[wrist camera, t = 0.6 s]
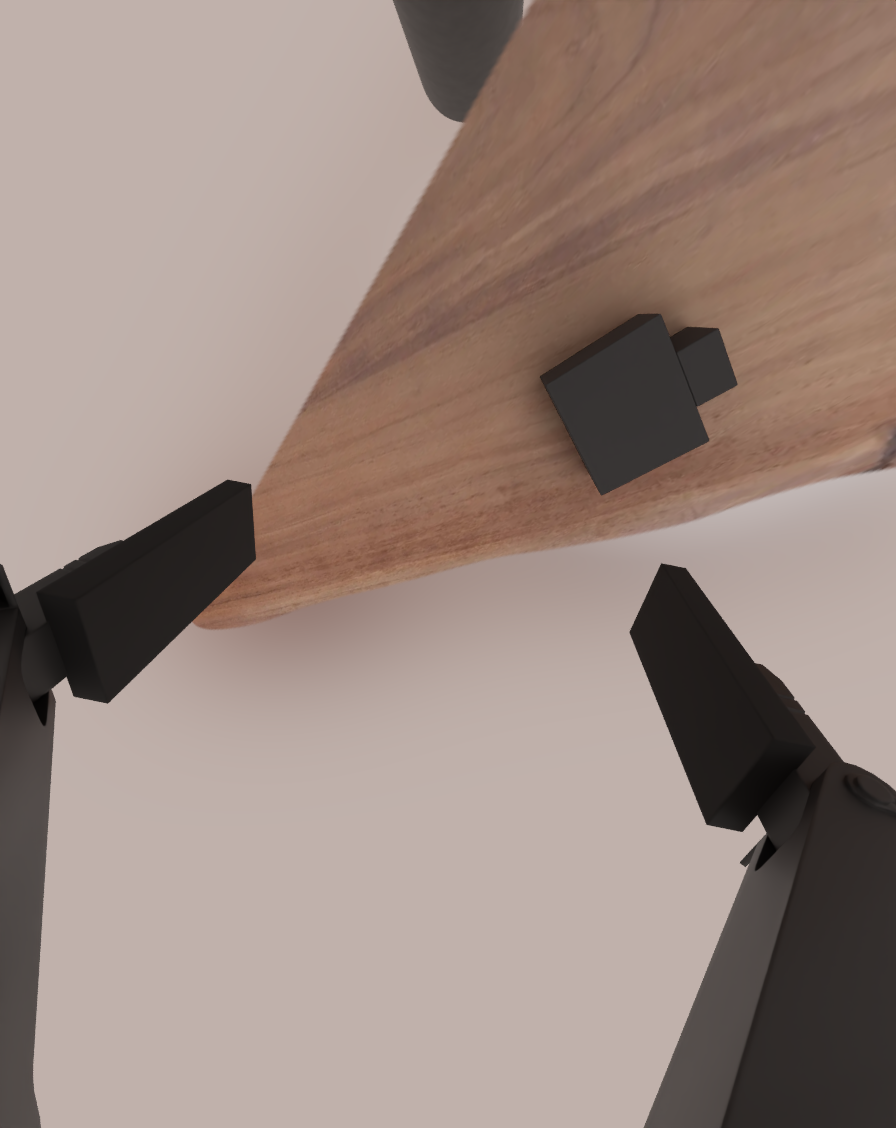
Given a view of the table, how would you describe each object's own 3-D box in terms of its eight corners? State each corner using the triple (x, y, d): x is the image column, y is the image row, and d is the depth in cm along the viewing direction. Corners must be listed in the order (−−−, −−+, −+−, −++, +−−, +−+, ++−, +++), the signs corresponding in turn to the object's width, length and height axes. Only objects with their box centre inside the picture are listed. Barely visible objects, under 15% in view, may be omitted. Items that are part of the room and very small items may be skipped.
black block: (539, 376, 26) (545, 385, 23) (675, 290, 24) (704, 285, 20) (589, 474, 29) (601, 496, 25) (717, 406, 26) (750, 420, 23)
